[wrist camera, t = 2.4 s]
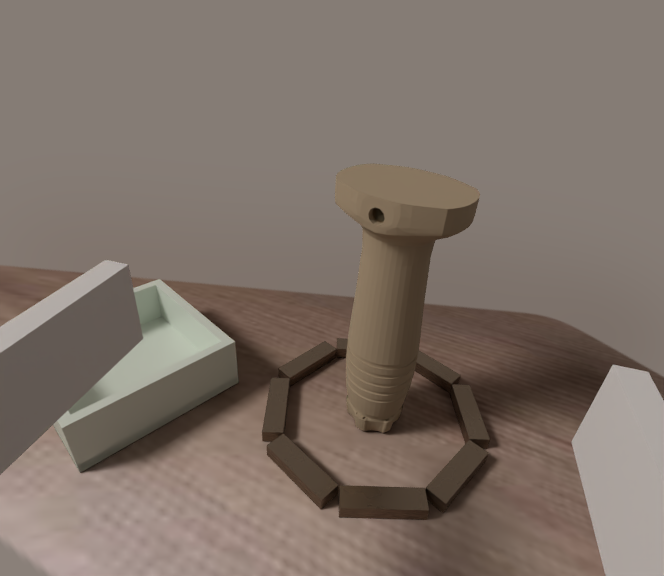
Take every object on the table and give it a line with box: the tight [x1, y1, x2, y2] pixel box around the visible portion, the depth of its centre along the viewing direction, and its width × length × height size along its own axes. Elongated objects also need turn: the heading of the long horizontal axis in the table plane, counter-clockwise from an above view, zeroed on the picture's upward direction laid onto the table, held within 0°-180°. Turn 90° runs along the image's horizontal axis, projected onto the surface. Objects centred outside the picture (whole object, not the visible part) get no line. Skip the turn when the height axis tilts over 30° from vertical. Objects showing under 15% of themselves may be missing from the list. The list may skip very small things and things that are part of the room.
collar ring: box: [262, 338, 490, 520], centre depth 27 cm, size 13×13×1 cm
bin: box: [53, 279, 239, 473], centre depth 28 cm, size 10×10×4 cm
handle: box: [335, 164, 480, 433], centre depth 23 cm, size 5×6×15 cm
